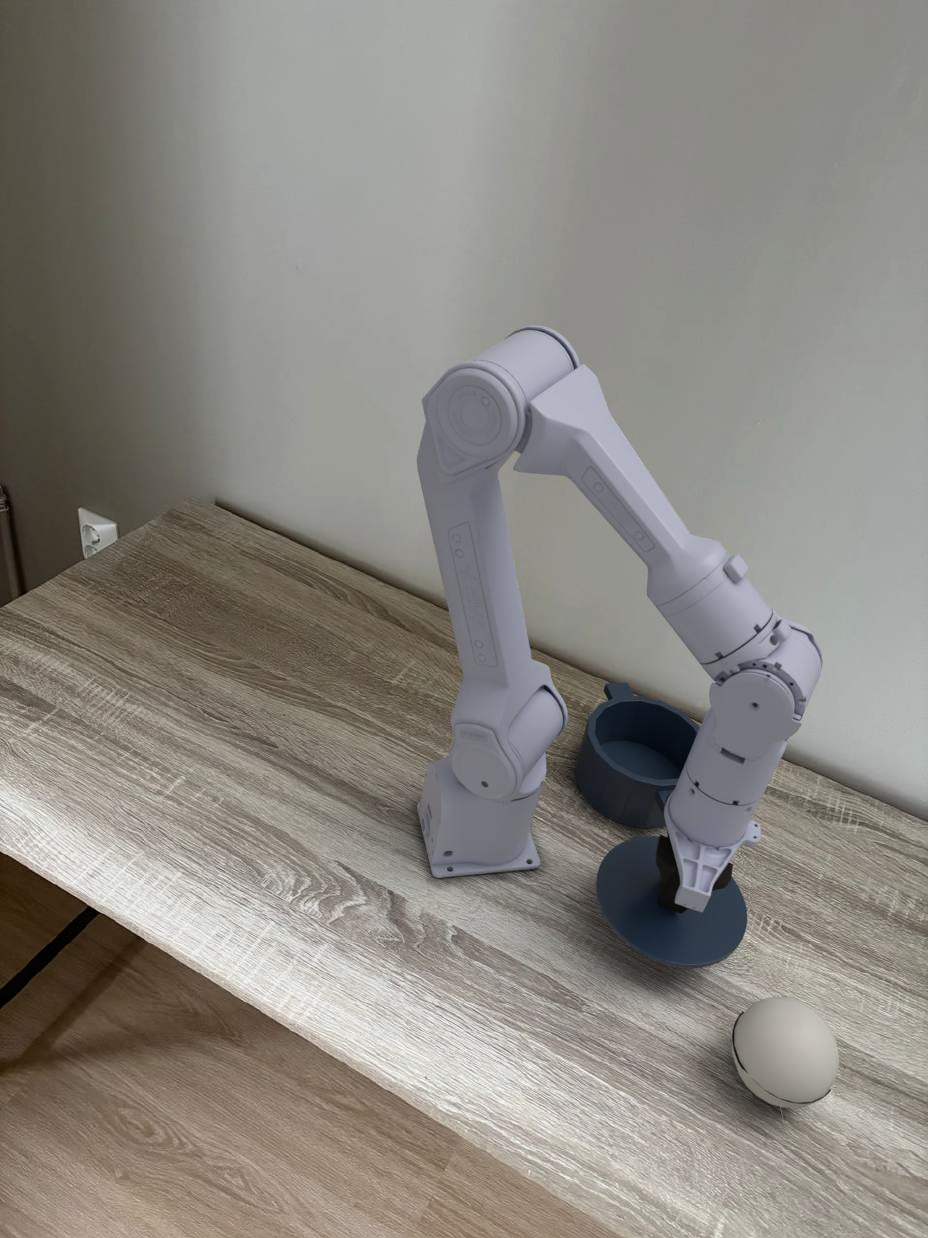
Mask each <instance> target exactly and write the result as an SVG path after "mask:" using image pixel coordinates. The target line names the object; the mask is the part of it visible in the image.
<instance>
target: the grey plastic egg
mask: <svg viewBox="0 0 928 1238" xmlns="http://www.w3.org/2000/svg"><path fill="white" fill-rule="evenodd" d="M838 1047H839V1046H838V1042H837V1040H836V1037H835V1034H834V1031H833V1030H832V1028H831V1026H830V1025H829V1023H828V1022H827V1021H826V1020H825V1018H824V1017H823V1015H821V1014H820V1013H819V1012H818V1011H817V1010H816V1009H814V1008H813V1007H812V1006H810V1005H809V1004H807V1003H805V1002H803V1001H802V1000H799V999H796V998H792V997H788V996H771V997H765V998H763V999H760V1000H758V1001H756V1002H753V1003H752V1004H751V1005H750V1006H749V1007H748V1008H747V1009H746V1010H745V1011H741V1012H740V1014H738V1016H737V1018H736V1019H735V1022H734V1024H733V1027H732V1034H731V1055H732V1059H733V1061H734V1064H735V1067H736V1070H737V1073H738V1076H739V1077H740V1078H741V1080H742V1081H743V1083H744V1085H745V1086H746V1087H747V1088H748V1089H749V1090H750V1091H751V1092H752V1093H753V1094H754V1095H755V1096H756V1097H757V1098H759V1099H761V1100H762V1101H764V1102H765V1103H767V1104H769V1105H773V1106H776V1107H780V1109H782V1108H786V1109H796V1108H806V1107H808V1106H810V1105H812V1104H814V1103H817V1102H820V1100H822V1099H824V1098H825V1097H827V1095H829V1094H830V1092H831V1091H832V1089H831V1088H832V1087H833V1086H834V1083H835V1080H836V1078H837V1074H838V1070H839V1067H840V1056H839V1048H838ZM780 1112H781V1113H780V1114H781V1117H782V1122H783V1124H785V1120H784V1115H783V1111H782V1110H780ZM783 1129H784V1134H785V1138H786V1139H788V1136H787V1132H786V1127H785V1125H783Z"/></svg>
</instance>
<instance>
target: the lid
mask: <svg viewBox="0 0 928 1238" xmlns="http://www.w3.org/2000/svg"><path fill="white" fill-rule="evenodd" d="M659 836H660V835H659ZM659 836H658V835H644V836H643V835H642V836H638V837H637V836H636V837H633V838H630V839H627V840H624V841H622V842H620V843H618V844H617V845H615V846H614V847H613V848H612V849H610V850H609V851H608V852H607V853H606V855H605V856H604V857H603V859H602V861H601V862H600V864H599V867H598V870H597V873H596V876H595V895H596V900H597V904H598V907H599V911H600V912H601V914H602V916H603V918H604V920H605V922H606V924H607V925H608V926H609V928H610V929H611V930H612V931H613V932H614V934H615V935H617V937H618V938H619V939H620V940H621V941H622V942H623V943H624V944H626V945H627V946H628V947H629V948H631V949H632V950H634V951H635V952H637V953H638V954H640V955H641V956H643V957H645V958H647V959H649V960H651V961H654V962H656V963H659V964H662V965H665V966H669V967H674V968H678V969H679V968H680V969H702V968H706V967H710V966H714V965H716V964H719V963H721V962H722V961H725V960H726V959H728V958H729V957H730V956H731V955H733V954H734V953H735V951H736V950H737V949H738V948H739V946H740V944H741V942H742V940H743V939H744V937H745V934H746V931H747V927H748V910H747V905H746V904H747V903H746V902H745V901H746V900H745V898H744V895H743V893H742V891H741V889H740V887H739V885H738V884H737V882H736V880H735V879H734V878H733V876H732V877H731V880H730V882H729V884H728V885H727V886H726V887H725V888H723V889H717V890H714V891H712V892H711V896H710V898H709V900H708V902H707V905H706V907H705V909H704V911H703V912H699V911H696V910H692V909H690V908H689V909H687V910H686V911H685V912H684V913H682V914H680V913H677V912H675V911H672V910H669V909H666V908H663V907H660V906H659V905H658V891H659V885H660V872H659V869H658V867H657V865H656V850H657V844H658V839H659Z"/></svg>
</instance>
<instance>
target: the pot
mask: <svg viewBox="0 0 928 1238" xmlns="http://www.w3.org/2000/svg"><path fill="white" fill-rule="evenodd" d="M603 693H604V695H605V697H606V699H607V700H606V701H604V702H602V703H600V704H598V705H597V707H595V709H594V710H593V711H592V712H591V714H590V715H589V716H588V719H587V723H586V726H585V729H584V733H583V736H582V739H581V742H580V745H579V747H578V751H577V754H576V759H575V766H574V777H575V782H576V785H577V787H578V790H579V792H580V794H581V795H582V796H583V798H584V799H585V800H586V801H587V802H588V804H590V806H591V807H593V809H595V810H596V811H597V812H599V813H600V814H602V815H604V816H605V817H607V818H608V819H610V820H612V821H614V822H617V823H619V824H621V825H624V826H628V827H633V828H638V829H658V828H664V827H667V826H666V822H665V818H664V808H665V803H666V798H667V796H668V795H669V794H671V793H672V792H673V791H674V790H675V787H676V785H677V782H678V780H679V777H680V775H681V773H682V770H683V768H684V765H685V763H686V760H687V758H688V756H689V753H690V751H691V748H692V746H693V743H694V741H695V738H696V736H697V734H698V731H699V729H700V725H699V724H698V723H696V722H695V721H694V720H693V719H692V718H691V717H690V716H689V715H688V714H686V712H684V711H683V710H681V709H678V708H676V707H674V706H672V705H670V704H668V703H666V702H664V701H662V700H659V699H655V698H650V697H646V696H641V695H635V693H634V692H633V690H632V688H631V685H630V684H629V682H627V681H626V682H606V683H605V684H604V688H603Z"/></svg>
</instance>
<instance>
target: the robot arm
mask: <svg viewBox="0 0 928 1238" xmlns="http://www.w3.org/2000/svg"><path fill="white" fill-rule="evenodd" d="M421 405H422V409H423V410H422V411H423V414H424V418H425V423H424V427H423V430H422V434H421V439H420V443H419V447H418V450H417V454H416V468H417V469H416V470H417V473H418V479H419V483H420V487H421V491H422V496H423V501H424V505H425V511H426V514H427V518H428V524H429V527H430V528H429V529H430V533H431V537H432V541H433V546H434V551H435V554H436V559H437V564H438V569H439V573H440V578H441V583H442V586H443V591H444V596H445V600H446V604H447V608H448V613H449V618H450V622H451V626H452V632H453V635H454V636H453V637H454V641H455V644H456V649H457V653H458V659H459V662H460V668H461V671H462V676H463V677H462V682H461V685H460V688H459V691H458V694H457V697H456V700H455V702H454V706H453V708H452V712H451V715H450V719H449V722H450V726H451V730H452V731H451V732H452V738H451V739H452V741H451V743H450V746H449V749H448V756H446V757H444V758H440V759H435V760H430V761H429V762H428V763H427V765H426V767H425V774H424V779H423V786H422V791H421V795H420V801H419V802H418V803H417V805H416V811H417V816H418V819H419V823H420V827H421V832H422V836H423V841H424V844H425V848H426V849H425V850H426V854H427V857H428V861H429V866H430V871H431V874H432V876H433V877H434V878H438V879H439V878H450V877H451V878H452V877H461V876H470V875H471V876H472V875H482V874H483V875H484V874H492V873H503V872H513V871H514V872H515V871H525V870H535V869H538V868H540V866H541V859H540V856H539V853H538V850H537V848H536V844H535V841H534V839H533V836H532V832H531V827H532V824H533V820H534V817H535V813H536V810H537V806H538V802H539V799H540V796H541V791H542V788H543V785H544V782H545V779H546V775H547V753H546V752H547V750H548V749H549V747H550V746H551V745H552V743H553V742H554V741H555V739H556V738H558V737H560V736H561V735H562V733H563V732H564V731H565V729H566V728H567V725H568V721H569V711H568V708H567V705H566V702H565V700H564V699H563V697H562V695H561V694H560V692H559V691H558V689H557V688H556V686H555V684H554V682H553V678H552V675H551V674H552V673H551V669H550V667H549V665H547V664H545V663H543V662H541V661H538V660H535V659H533V658H532V657H533V656H532V651H531V647H530V641H529V635H528V631H527V625H526V619H525V615H524V609H523V608H524V607H523V603H522V598H521V597H522V596H521V592H520V587H519V580H518V575H517V571H516V564H515V560H514V559H515V558H514V554H513V548H512V543H511V538H510V537H511V536H510V532H509V526H508V520H507V516H506V511H505V505H504V498H503V494H502V489H501V484H500V478H499V473H500V470H501V469H502V467H503V466H504V465H505V464H506V463H507V462H508V461H509V459H510V458H511V457H512V455H513V454H514V453H515V452H516V453H518V454H520V455H519V457H518V458H517V460H516V462H515V464H514V465H513V467H512V470H513V471H515V472H517V473H524V474H525V473H526V474H535V475H536V474H537V475H548V476H549V475H550V476H562V477H566V478H567V479H569V480H570V481H571V482H572V484H574V486H575V487H576V488H577V489H578V490H579V491H580V492H581V493H582V495H583V496H584V497H585V498H586V499H587V500H588V501H589V502H590V504H591V505H592V506H593V507H594V508H595V509H596V510H597V512H598V513H599V514H600V515H601V516H602V517H603V518H604V520H605V521H606V522H607V523H608V524H609V525H610V526H611V527H612V528H613V530H614V531H615V532H616V533H617V534H618V535H619V536H620V537H621V539H622V540H623V541H624V542H625V544H626V545H628V547H630V549H631V550H632V551H633V552H634V553H635V554H636V555H637V557H638V558H639V559H640V560H641V561H642V563H644V565H645V566H646V568H647V580H646V581H647V583H646V596H647V598H648V599H649V600H650V601H651V603H652V604H653V606H655V608H656V610H657V611H658V612H659V613H660V614H661V616H662V617H663V618H664V619H665V621H666V622H667V623H668V625H669V626H670V627H671V629H672V630H673V631H674V633H675V634H676V635H677V636H678V638H679V639H680V641H682V643H683V644H684V645H685V647H686V648H687V649H688V651H689V652H690V653H691V654H692V656H693V657H694V658H695V660H696V661H697V662H698V663H699V665H700V666H701V667H702V668H703V670H704V672H705V673H706V675H708V676H709V677H710V678H711V680H713V682H712V683H711V684H710V686H709V692H708V693H709V694H708V695H709V696H708V699H709V704H710V707H709V708H708V710H707V711H706V712H705V714H704V717H703V719H702V721H701V723H700V725H699V727H700V729H699V731H698V734H697V736H696V738H695V741H694V743H693V746H692V748H691V751H690V753H689V756H688V758H687V760H686V763H685V765H684V768H683V770H682V773H681V775H680V777H679V780H678V782H677V785H676V787H675V790H674V791H673V792H672V793H671V794H669V795H668V796H667V798H666V803H665V808H664V818H665V822H666V826H665V827H666V830H667V831H666V832H667V833H666V834H667V836H665V835H662V834H660V835H659V839H658V844H657V850H656V865H657V867H658V869H659V872H660V885H659V891H658V905H659V906H660V907H663V908H666V909H669V910H672V911H675V912H677V913H680V914H682V913H684V912H685V911H686V910H687V909H689V908H690V909H692V910H696V911H699V912H703V911H704V909H705V907H706V905H707V902H708V900H709V898H710V896H711V892H712V891H714V890H717V889H723V888H725V887H726V886H727V885H728V884H729V882H730V880H731V877H732V878H733V868H734V867H733V866H734V863H731V861H732V859H733V858H734V856H735V855H736V854H737V852H738V850H739V849H740V848H741V847H742V846H747V847H750V848H757V847H758V844H760V843H759V842H760V841H761V836H762V835H761V834H762V826H761V824H760V823H759V822H758V821H755V820H753V819H752V818H753V817H754V814H755V812H756V810H757V808H758V806H759V804H760V802H761V801H762V798H763V796H764V794H765V793H766V790H767V788H768V786H769V784H770V782H771V780H772V777H773V776H774V774H775V772H776V770H777V768H778V766H779V763H780V762H781V759H782V758H783V755H784V753H785V751H786V749H787V745H788V740H789V739H790V738H791V737H792V736H794V735H795V734H796V733H797V732H798V731H799V730H800V728H801V727H802V725H803V724H802V722H801V720H802V719H803V716H804V714H805V712H806V710H807V708H808V705H809V702H810V701H811V698H812V696H813V693H814V691H815V689H816V687H817V685H818V682H819V680H820V677H821V674H822V669H823V664H824V663H823V661H824V660H823V654H822V651H821V648H820V646H819V644H818V642H817V641H816V639H815V635H814V633H813V631H811V630H810V629H808V628H807V627H806V626H804V625H802V624H801V623H799V622H797V621H794V620H792V619H787V618H784V617H782V616H781V615H780V614H778V613H777V612H776V611H775V609H774V608H772V609H771V607H770V606H769V604H768V603H767V602H766V601H765V599H764V597H762V595H761V594H760V593H759V591H758V590H757V589H756V588H755V586H754V584H752V582H751V580H750V579H748V577H747V576H746V575H747V573H748V572H749V570H750V567H749V566H748V564H747V563H746V561H745V560H744V559H743V558H742V556H741V555H740V554H739V553H737V554H736V553H735V554H734V555H733V556H731V554H730V553H729V552H728V551H727V550H726V548H725V547H724V545H723V544H722V543H721V542H720V541H719V540H716V539H714V538H708V537H703V536H698V535H694V534H692V533H690V531H689V529H688V528H687V526H686V525H685V523H684V522H683V520H682V519H681V517H680V516H679V514H678V513H677V511H676V510H675V508H674V507H673V506H672V504H671V502H670V501H669V500H668V498H667V497H666V495H665V494H664V492H663V490H662V489H661V488H660V486H659V485H658V483H657V482H656V480H655V479H654V477H653V476H652V474H651V473H650V471H649V470H648V468H647V466H646V465H645V463H644V462H643V461H642V459H641V458H640V456H639V455H638V453H637V451H636V450H635V448H634V447H633V446H632V444H631V443H630V441H629V440H628V438H627V437H626V435H625V434H624V432H623V431H622V429H621V428H620V426H619V424H618V423H617V422H616V420H615V418H614V417H613V415H612V413H611V412H610V409H609V407H608V403H607V401H606V399H605V396H604V393H603V389H602V387H601V384H600V381H599V378H598V377H597V375H596V374H595V373H594V372H593V371H592V370H591V369H590V368H589V367H588V366H587V365H586V364H585V363H582V364H581V363H580V359H579V356H578V354H577V352H576V350H575V349H574V347H573V345H572V344H571V343H570V341H569V340H568V339H567V338H566V337H565V336H563V335H562V334H561V333H559V332H558V331H557V330H554V329H553V328H551V327H547V326H544V325H538V324H535V325H534V324H531V325H525V326H522V327H520V328H516V329H515V330H514V331H512V332H511V333H510V334H508V335H506V337H505V338H504V339H503V340H500V341H499V342H497V343H495V344H493V345H492V346H490V347H489V348H487V349H485V350H483V351H481V352H480V353H479V354H477V355H475V356H473V357H471V358H470V359H468V360H467V361H463V362H460V363H457V364H455V365H453V366H452V367H450V368H448V369H447V370H446V371H445V372H444V374H442V375H441V377H439V379H438V380H437V381H436V382H435V383H434V384H433V386H431V388H430V389H429V390H428V391H427V393H426V394H425V395H424V396H423V397H422V398H421ZM449 870H450V871H449Z"/></svg>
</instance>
